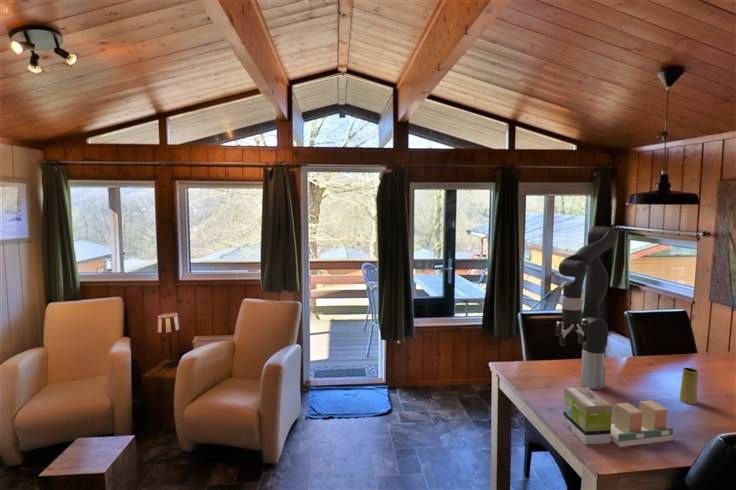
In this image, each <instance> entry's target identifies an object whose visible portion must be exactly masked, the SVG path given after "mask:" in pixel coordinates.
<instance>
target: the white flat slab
mask: <svg viewBox="0 0 736 490" xmlns="http://www.w3.org/2000/svg"><path fill="white" fill-rule="evenodd" d="M673 438H674V428H673V427H666V428H664V429H656V430H647V429H645V428H644V427H641V431H639V432H630V433H623V432H621V431H620V430H618V429H617V428H615V427H614V423H611V437H610V442H613V444H615V445H616V446H618V447H619V448H622V447H629V446H637V445H645V444H653V443H654V444H655V443H664V442H670V441H673Z"/></svg>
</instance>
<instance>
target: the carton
mask: <svg viewBox="0 0 736 490" xmlns="http://www.w3.org/2000/svg"><path fill="white" fill-rule="evenodd" d="M614 406H615V407H614V408H615V409H614V421H613V422H614V423H613V424H614V427H615V428H617V429H618V430H620V431H621V432H623V433H630V432H639V431H641V427H642V411H641V410H639V409H638V408H637V407H635V406H634V405H633V404H630V403H628V402H622V403H621V402H620V403H615V405H614Z"/></svg>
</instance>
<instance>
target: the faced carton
mask: <svg viewBox="0 0 736 490" xmlns="http://www.w3.org/2000/svg"><path fill="white" fill-rule="evenodd" d="M638 405H639V410H641V411H642V427H644V428H645V429H647V430H656V429H664V428H667V417H668V408H666V407H664V406H662V405H661V404H659V403H657V402H655V401H653V400H641V401H639V404H638Z"/></svg>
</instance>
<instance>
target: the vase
mask: <svg viewBox="0 0 736 490" xmlns="http://www.w3.org/2000/svg"><path fill="white" fill-rule="evenodd" d="M698 375H699V371H698V370H697V369H696V368H692V367H682V377H681V384H680V385H681V386H680V392H679V400H680V402H682V403H684V404H687V405H697V404H698V379H699V378H698Z"/></svg>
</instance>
